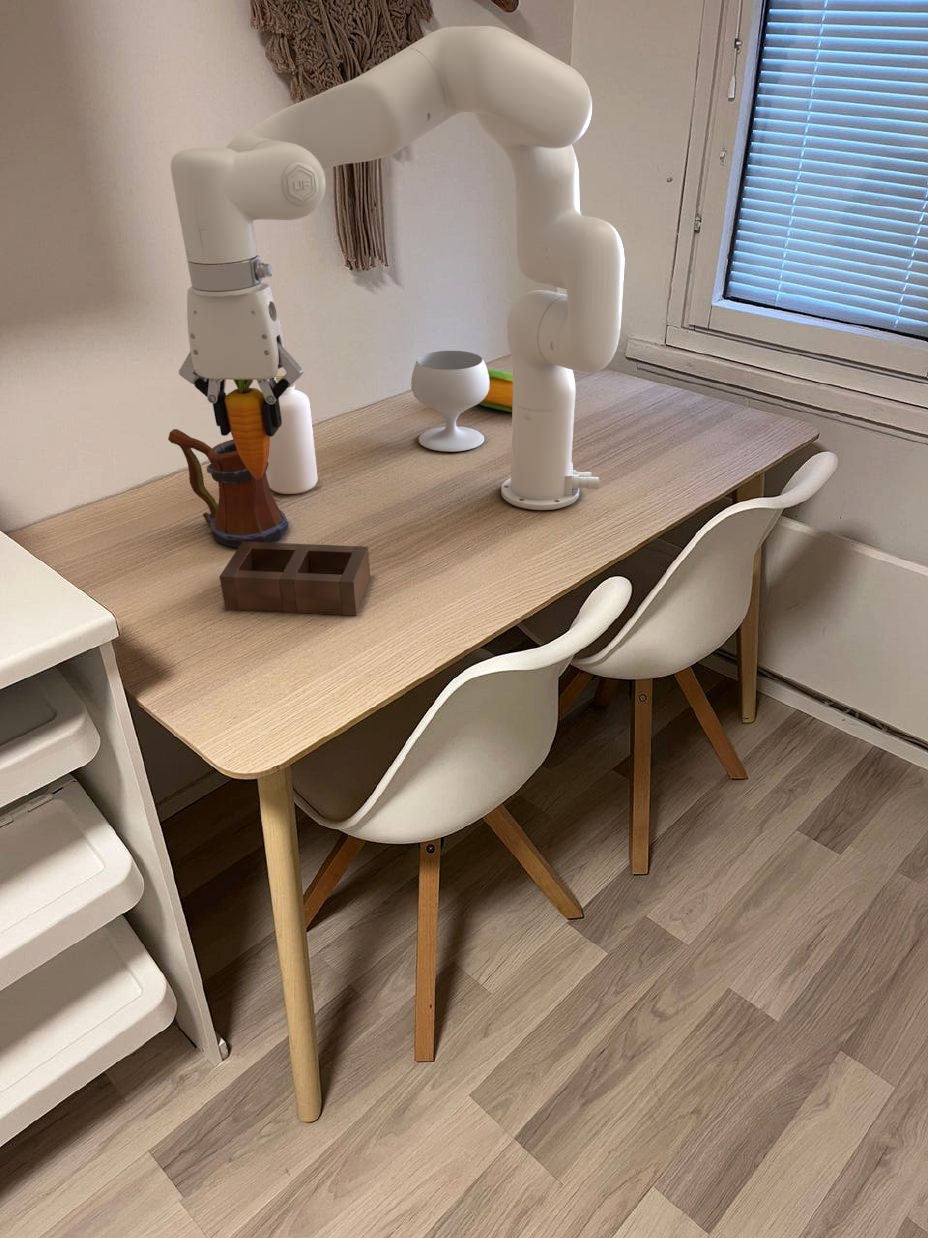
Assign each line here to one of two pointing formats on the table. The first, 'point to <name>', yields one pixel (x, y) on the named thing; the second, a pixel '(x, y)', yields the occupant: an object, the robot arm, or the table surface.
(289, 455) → the white bottle
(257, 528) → the mug
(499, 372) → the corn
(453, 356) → the chalice
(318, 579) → the holder
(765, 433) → the table surface
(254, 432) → the carrot
